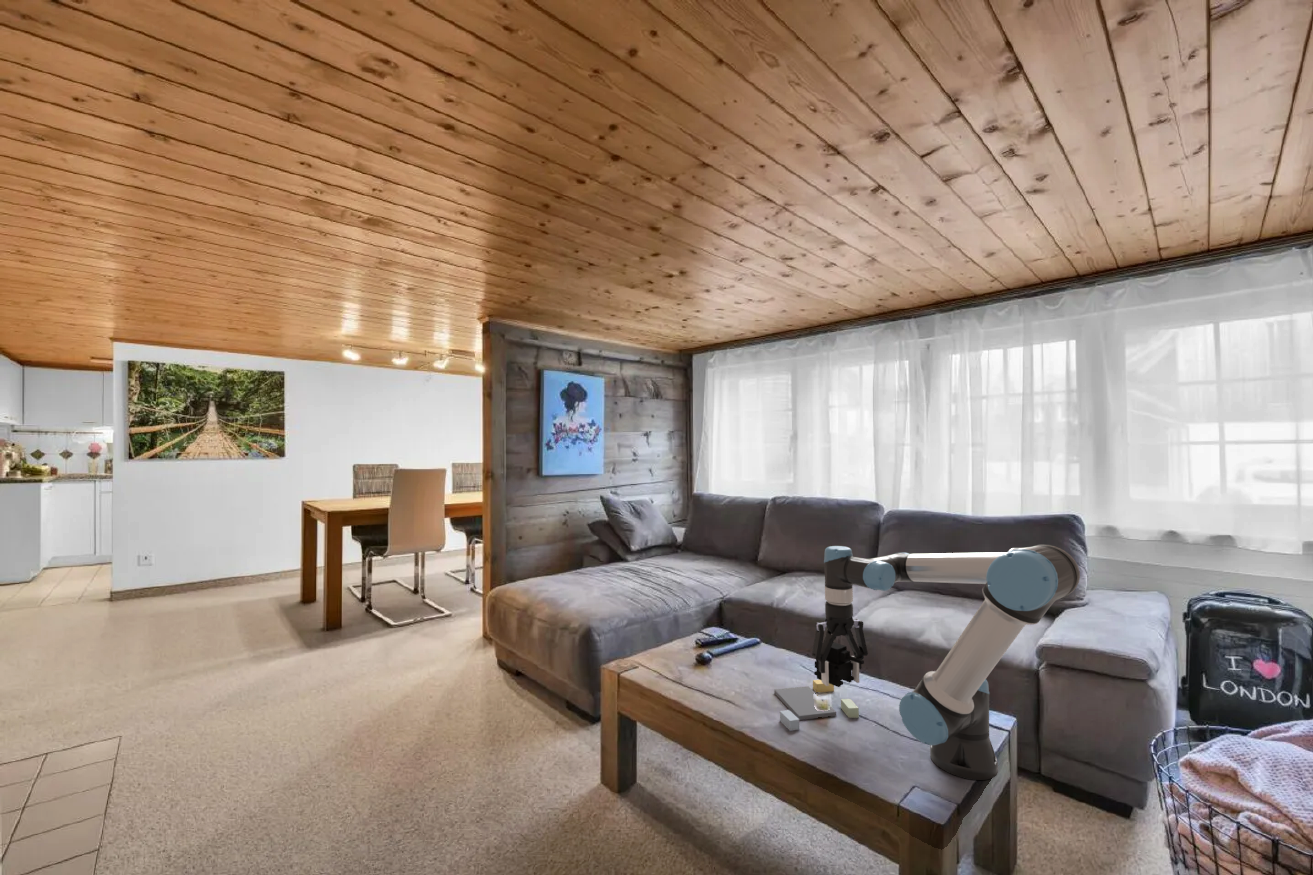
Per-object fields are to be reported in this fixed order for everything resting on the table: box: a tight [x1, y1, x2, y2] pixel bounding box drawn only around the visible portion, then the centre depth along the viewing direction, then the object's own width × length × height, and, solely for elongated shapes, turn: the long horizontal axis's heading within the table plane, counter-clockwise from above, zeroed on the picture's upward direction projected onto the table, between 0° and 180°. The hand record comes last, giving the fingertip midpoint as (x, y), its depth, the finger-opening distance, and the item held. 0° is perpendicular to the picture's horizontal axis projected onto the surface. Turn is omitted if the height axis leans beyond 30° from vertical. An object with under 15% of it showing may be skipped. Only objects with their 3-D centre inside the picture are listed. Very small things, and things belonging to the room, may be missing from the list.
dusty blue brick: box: [779, 709, 800, 732], centre depth 161 cm, size 6×3×3 cm, turn 15°
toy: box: [814, 641, 865, 688], centre depth 156 cm, size 8×14×10 cm, turn 36°
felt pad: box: [773, 685, 837, 721], centre depth 173 cm, size 18×12×1 cm, turn 11°
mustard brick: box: [812, 679, 835, 693], centre depth 183 cm, size 6×3×3 cm, turn 102°
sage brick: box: [840, 698, 860, 719], centre depth 168 cm, size 6×3×3 cm, turn 3°
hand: (840, 682), depth 156 cm, fingers closed on toy, 9 cm apart
